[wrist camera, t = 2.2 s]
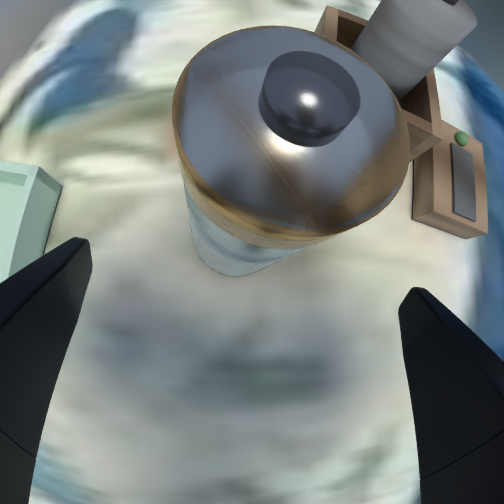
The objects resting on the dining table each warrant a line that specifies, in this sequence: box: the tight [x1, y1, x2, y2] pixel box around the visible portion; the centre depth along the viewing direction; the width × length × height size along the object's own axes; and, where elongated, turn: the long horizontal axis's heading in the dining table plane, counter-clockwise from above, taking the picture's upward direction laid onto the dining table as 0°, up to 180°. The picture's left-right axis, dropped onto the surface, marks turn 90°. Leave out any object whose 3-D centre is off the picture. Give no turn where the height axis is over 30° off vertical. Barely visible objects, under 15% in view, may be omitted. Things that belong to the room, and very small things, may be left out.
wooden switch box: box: [413, 120, 488, 239], centre depth 20 cm, size 8×6×3 cm
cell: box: [172, 26, 410, 276], centre depth 12 cm, size 5×5×14 cm
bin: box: [315, 0, 477, 162], centre depth 15 cm, size 8×8×13 cm
